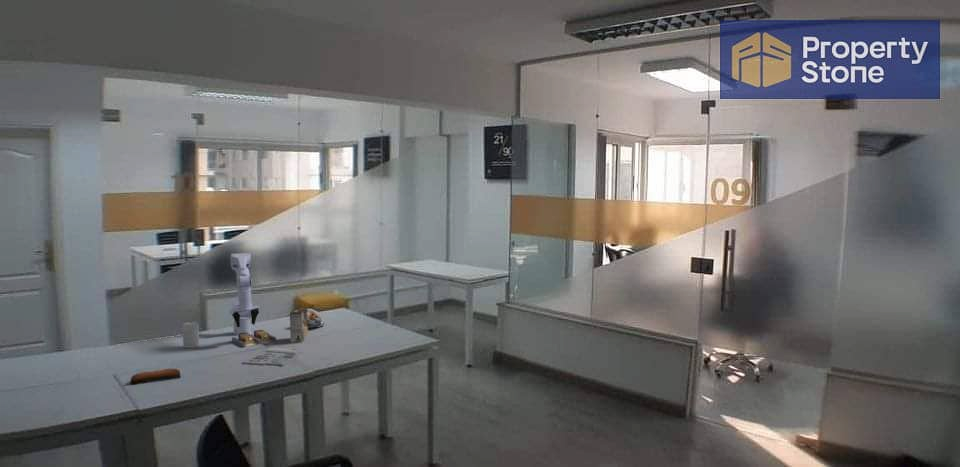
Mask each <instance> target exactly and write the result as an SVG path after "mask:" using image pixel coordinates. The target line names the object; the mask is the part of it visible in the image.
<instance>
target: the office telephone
mask: <svg viewBox="0 0 960 467" xmlns="http://www.w3.org/2000/svg"><path fill="white" fill-rule="evenodd" d="M302 353H303V350H301V349H296V348H295V349H293V348H281V347H268V348H266V350H265V351H263V352H261V353H259V354H256V355H254V356H252V357H250V358H248V359H246V360H243V361H242V365H255V366H277V367H284V366H287V365H288V364H290V363H292V362H293V361H295V360H296V359H299V358H300V355H301V354H302ZM283 358H289V359H288V360H286V361H284V362H278V361H279V360H281V359H283Z"/></svg>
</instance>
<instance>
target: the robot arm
mask: <svg viewBox="0 0 960 467" xmlns="http://www.w3.org/2000/svg"><path fill="white" fill-rule="evenodd" d="M251 257H252V256H251V253H250V252H245V253H244V252H243V253H241V252H240V253H233V252H232V253H230V267H231V270H233V271H235V273H236V286H237V300H236V301H235V302H234V303H233V304H232V308H231V309H230V310H229V313H230V315H231V316H232V318H233V319H234V320H233V332H232V333H231V334H233V335H235V336H238V334H239V333H244V332H247V333H249V334H251V335H254V332H251V329H252V328H251V325H253V326H254V325H255V324H256V320H257V317H258V314H259V313H260V310H261V305H253V303H252V285H253V282H252V281H253V279H252V275H251V274H250V267H251V262H252V258H251Z"/></svg>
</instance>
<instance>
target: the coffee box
mask: <svg viewBox="0 0 960 467" xmlns="http://www.w3.org/2000/svg"><path fill="white" fill-rule="evenodd" d="M307 309H308V308H302V309H301V308H295V309H294V310H292V311H290V312H289V322H290V323H289V328H290V329H289V331H290V333H289V334H290V336H289V337H290V343H304V342H305V341H306V340H307V339H309V328H308V314H307Z"/></svg>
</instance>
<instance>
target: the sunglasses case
mask: <svg viewBox="0 0 960 467" xmlns="http://www.w3.org/2000/svg"><path fill="white" fill-rule="evenodd" d="M171 378H181V372H180V370H179V369H177V368H164V369H160V370H152V371H142V372H139V373H136V374H134V375H132V376H131V377H130V385H133V384H134V385H135V384H139V383H144V382H149V381H157V380H162V379H164V380H165V379H171Z"/></svg>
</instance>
